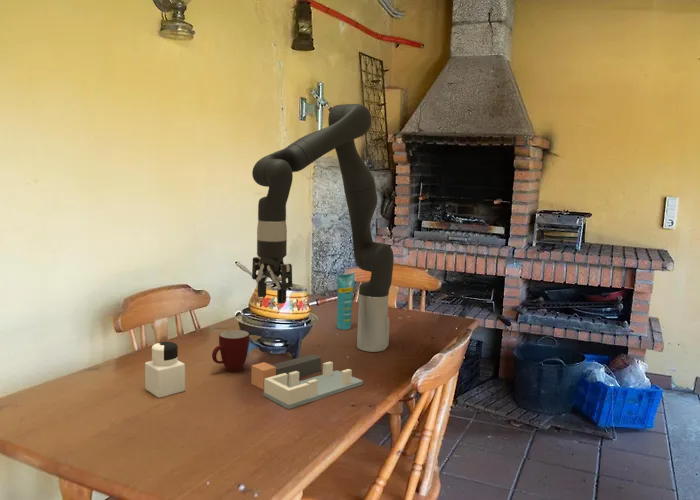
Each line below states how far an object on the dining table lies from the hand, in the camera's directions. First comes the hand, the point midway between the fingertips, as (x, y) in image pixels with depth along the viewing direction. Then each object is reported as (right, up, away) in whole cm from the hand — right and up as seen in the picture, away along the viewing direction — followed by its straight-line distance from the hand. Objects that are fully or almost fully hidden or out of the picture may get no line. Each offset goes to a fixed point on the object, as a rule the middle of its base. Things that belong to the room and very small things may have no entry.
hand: (271, 299), depth 154 cm
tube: (+18, -14, +53) cm, 58 cm away
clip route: (+11, -23, -3) cm, 26 cm away
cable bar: (+4, -21, +5) cm, 22 cm away
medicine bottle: (-25, -22, -7) cm, 34 cm away
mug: (-12, -20, +8) cm, 25 cm away
